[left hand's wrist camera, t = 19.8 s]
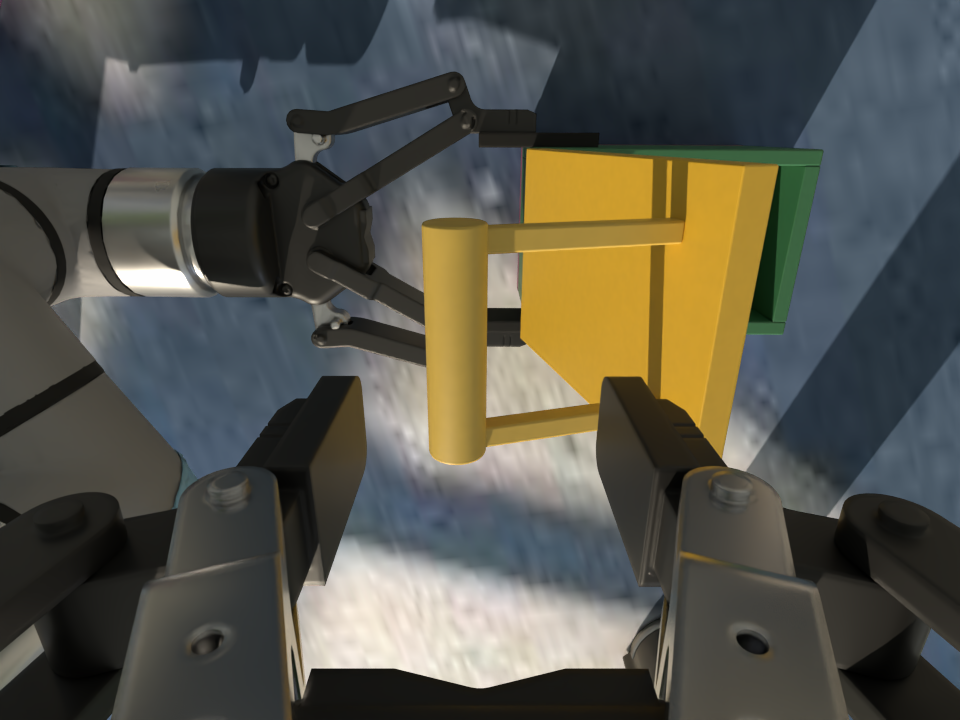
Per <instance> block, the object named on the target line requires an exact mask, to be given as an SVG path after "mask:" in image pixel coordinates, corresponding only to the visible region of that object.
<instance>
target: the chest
mask: <svg viewBox="0 0 960 720" xmlns="http://www.w3.org/2000/svg"><path fill="white" fill-rule="evenodd" d="M528 148H548V149H563V150H578V151H592V152H607V153H621V154H636V155H651V156H665V157H680V158H695V159H709V160H724V161H738V162H753V163H768V164H777V165H778V166H779V167H778V173H777V178H776V183H775V188H774V193H773V198H772V203H771V208H770V214H769V219H768V224H767V229H766V234H765V239H764V244H763V250H762V255H761V260H760V265H759V270H758V275H757V280H756V286H755V291H754V296H753V301H752V306H751V311H750V316H749V321H748V327H747V332H746V334H778V335H781V334H783V332H784V328H785V321H786V319H787V315H788V310H789V306H790V301H791V297H792V292H793V288H794V283H795V279H796V274H797V270H798V265H799V261H800V256H801V252H802V247H803V243H804V238H805V234H806V229H807V225H808V220H809V216H810V211H811V206H812V202H813V197H814V193H815V188H816V184H817V179H818V175H819V170H820V166H819V165H820V164H821V160H822V156H823V150H821V149H801V148H781V147H761V146H743V145H611V144H598V147H522V148H521V181H520V213H519V224H522V223H524V213H525V184H526V154H527V149H528ZM522 272H523V252H520V253H518V278H517V289H518V291H519V296H520V300H521V301H522Z"/></svg>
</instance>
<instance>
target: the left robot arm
mask: <svg viewBox="0 0 960 720" xmlns="http://www.w3.org/2000/svg"><path fill="white" fill-rule="evenodd" d="M366 455H367V443H366V431H365V419H364V407H363V396H362V386H361V381H360V378H359V377H358V376H322V377H321V378H320V380H319V381H318V383H317V384H316V386H315V387H314V389H313V390H312V392H311V394H310V395H309V397H308V398H307V399H295V400H293V401H292V402H290V403H288V404H287V405H285V406H283V407H282V408H280V409H279V410H277V412H276V413H275V414H274V416H273V417H272V419H271V420H270V421H269V423H268V426H266V427H265V428H264V429H263V431H262V432H261V434H260V437H258V438H257V439H256V440H255V442H254V443H253V444H252V446H251V447H250V448H249V450H248V451H247V453H246V454H245V455H244V457H243V458H242V459H241V461H240V462H239V463H238V465H237V466H236V467H232V468H227V469H222V470H219V471H216V472H213V473H211V474H208V475H206V476H204V477H202V478H200V479H198V480H197V481H195V482H194V483H192V484H191V485H190V486H188V487H187V488H186V490H185V491H184V492H183V493H182V495H181V496H180V499H179V503H178V508H175V509H171V510H167V511H162V512H156V513H151V514H146V515H141V516H135V517H130V518H125V519H123V515H122V512H121V508H120V505H119V502H118V500H117V499H116V498H115V497H114V496H112V495H110V494H107V493H102V492H84V493H77V494H71V495H67V496H63V497H59V498H56V499H53V500H50V501H48V502H45V503H43V504H40V505H38V506H36V507H34V508H32V509H30V510H28V511H27V512H25V513H23V514H22V515H20V516H18V517H17V518H15V519H14V520H12V521H11V522H9V523H7V524H6V525H4V526H3V527H1V528H0V652H1V651H2V650H3V649H4V648H6V647H7V646H8V645H9V644H10V643H12V642H13V641H14V640H15V639H16V638H18V637H19V636H20V635H21V634H22V633H24V632H25V631H26V630H27V629H28V628H30V627H31V626H32V625H33V624H34V626H35V629H36V631H37V634H38V636H39V639H40V641H41V644H42V646H43V649H44V652H42V653H41V654H40V655H39V656H38V657H37V658H36V659H35V660H34V661H32V662H31V663H30V664H29V665H28V666H27V667H26V668H25V669H24V670H22V671H21V672H20V673H19V674H18V675H17V676H16V677H15V678H14V679H12V680H11V681H10V682H9V683H8V684H7V685H6V686H5V687H4V688H2V689H1V690H0V720H107V719H108V717H109V716H110V715H111V714H112V716H111V720H849V716H848V714H849V715H850V716H851V717H852V719H853V720H960V690H959V689H958V688H956V687H955V686H954V685H953V684H952V683H951V682H950V681H949V680H948V679H946V678H945V677H944V676H943V675H942V674H941V673H940V672H939V671H938V670H936V669H935V668H934V667H933V666H932V665H931V664H930V663H929V662H928V661H926V660H925V659H924V658H923V657H922V656H921V652H922V650H923V647H924V645H925V642H926V640H927V637H928V635H929V632H930V630H931V628H932V629H933V630H934V631H935V632H936V633H938V634H939V635H940V636H941V637H942V638H944V639H945V640H946V641H947V642H948V643H950V644H951V645H952V646H953V647H954V648H956V649H957V650H958V651H959V652H960V528H959V527H957V526H956V525H954V524H953V523H951V522H949V521H948V520H946V519H945V518H943V517H942V516H940V515H938V514H937V513H935V512H933V511H931V510H929V509H927V508H925V507H923V506H921V505H918V504H916V503H913V502H910V501H907V500H904V499H901V498H897V497H893V496H888V495H883V494H870V493H866V494H858V495H853V496H851V497H849V498H848V499H847V500H845V502H844V504H843V507H842V510H841V514H840V517H839V519H835V518H830V517H825V516H819V515H814V514H809V513H804V512H798V511H794V510H790V509H786V508H783V507H782V503H781V499H780V496H779V495H778V493H777V492H776V491H775V490H774V488H773V487H772V486H770V485H769V484H768V483H766V482H765V481H763V480H762V479H760V478H758V477H756V476H754V475H752V474H749V473H747V472H744V471H741V470H738V469H733V468H728V467H727V465H726V464H725V463H724V461H723V460H722V459H721V457H720V456H719V455H718V453H717V452H716V451H715V449H714V448H713V447H712V445H711V444H710V443H709V441H708V440H707V439H706V438H704V435H703V433H702V432H701V431H700V429H699V428H698V427H696V424H695V423H694V421H693V420H692V418H691V417H690V416H689V414H688V413H687V412H686V410H684V409H682V408H681V407H679V406H677V405H676V404H674V403H673V402H671V401H669V400H668V399H656V398H655V397H654V395H653V394H652V392H651V391H650V389H649V388H648V386H647V385H646V383H645V382H644V380H643V379H642V377H640V376H605V377H604V379H603V381H602V386H601V395H600V406H599V417H598V429H597V440H596V459H597V467H598V471H599V475H600V477H601V480H602V483H603V486H604V489H605V492H606V495H607V497H608V500H609V503H610V506H611V509H612V512H613V514H614V517H615V520H616V523H617V526H618V529H619V531H620V534H621V537H622V540H623V543H624V546H625V549H626V551H627V554H628V557H629V560H630V563H631V566H632V568H633V571H634V574H635V577H636V580H637V583H638V586H639V587H661V588H662V590H663V593H664V601H663V608H662V614H661V619H658V620H656V621H654V622H652V623H650V624H649V625H647V626H646V627H645V628H643V629H642V630H641V631H640V632H639V633H638V634H637V636H636V637H635V639H634V640H633V643H632V645H631V649H630V652H629V653H628V654H627V655H625V656H624V657H623V661H624V665H625V668H626V669H562V670H558V671H554V672H550V673H546V674H542V675H538V676H534V677H530V678H526V679H522V680H518V681H513V682H509V683H505V684H501V685H497V686H493V687H489V688H471V687H467V686H463V685H459V684H455V683H451V682H447V681H442V680H438V679H434V678H430V677H426V676H422V675H418V674H414V673H410V672H406V671H402V670H398V669H311V672H310V675H309V679H308V682H307V685H306V682H305V672H304V662H303V652H302V642H301V632H300V623H299V614H298V608H297V600H298V597H299V595H300V592H301V590H302V587H303V586H325V584H326V581H327V578H328V575H329V572H330V570H331V567H332V564H333V561H334V558H335V555H336V552H337V549H338V546H339V543H340V540H341V538H342V535H343V532H344V529H345V526H346V523H347V520H348V517H349V514H350V511H351V509H352V506H353V503H354V500H355V497H356V494H357V491H358V488H359V485H360V482H361V479H362V477H363V474H364V470H365V465H366Z"/></svg>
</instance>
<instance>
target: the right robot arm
mask: <svg viewBox="0 0 960 720" xmlns="http://www.w3.org/2000/svg"><path fill="white" fill-rule="evenodd" d="M444 103H449V106H450V108H451V111H452V114H453V116H452V117H450V118H448V119H447V120H445V121H444V122H442V123H440V124H439V125H437V126H436V127H434V128H432V129H431V130H429V131H428V132H426V133H425V134H423V135H421V136H420V137H418V138H417V139H415V140H413V141H412V142H410V143H409V144H407V145H405V146H404V147H402V148H401V149H399V150H397V151H396V152H394V153H393V154H391V155H390V156H388V157H386V158H385V159H383V160H382V161H380V162H378V163H377V164H375V165H374V166H372V167H370V168H369V169H367V170H366V171H364V172H362V173H360V174H359V175H357V176H355V177H354V178H352V179H351V180H349V181H347V182H345V181H344V180H342V179H341V178H340V177H338V176H337V175H335V174H334V173H333V172H331V171H330V170H328V169H327V168H326V167H324V166H323V165H321V164H320V163H319V162H317V156H318V154H319V153H320V152H321V151H323V150H326V149H330V148H331V147H332V146H333V145H334V143H335V135H342V134H348V133H352V132H356V131H359V130H362V129H365V128H369V127H372V126H375V125H378V124H381V123H384V122H388V121H391V120H394V119H397V118H400V117H403V116H407V115H410V114H413V113H416V112H419V111H422V110H425V109H429V108H432V107H435V106H438V105H441V104H444ZM286 122H287V125H288V127H289V128H290V130H292V131H293V132H294V145H295V161H294V162H292V163H290V164H289V165H287V166H285V167H283V168H213V169H211V170H209V171H208V172H205V171H203V170H201V169H199V168H122V169H81V168H36V167H17V166H12V165H0V528H1V527H3V526H4V525H6V524H7V523H9V522H11V521H12V520H14V519H15V518H17V517H18V516H20V515H22V514H23V513H25V512H27V511H28V510H30V509H32V508H34V507H36V506H38V505H40V504H43V503H45V502H48V501H50V500H53V499H56V498H59V497H63V496H67V495H71V494H77V493H84V492H102V493H107V494H110V495H112V496H114V497H115V498H116V499H117V500H118V502H119V505H120V508H121V512H122V515H123V519H125V518H130V517H135V516H141V515H146V514H151V513H156V512H162V511H167V510H171V509H175V508H178V503H179V499H180V496H181V495H182V493H183V492H184V491H185V490H186V488H187V487H188V486H190V485H191V484H192V483H194V482H195V481H197V480H198V479H197V478H196V476H195V475H194V474H193V472H192V471H191V470H190V468H189V467H188V465H187V462H186V460H185V459H184V458H183V455H182V454H180V453H179V452H177V451H176V450H175V449H173V448H172V447H171V446H170V445H169V444H168V443H167V442H166V440H165V439H164V438H163V437H162V436H161V435H160V434H159V433H158V431H157V430H156V429H155V428H154V427H153V426H152V425H151V424H150V423H149V421H148V420H147V419H146V418H145V417H144V416H143V415H142V414H141V412H140V411H139V410H138V409H137V408H136V407H135V406H134V405H133V404H132V402H131V401H130V400H129V399H128V398H127V397H126V396H125V395H124V393H123V392H122V391H121V390H120V389H119V388H118V387H117V386H116V385H115V383H114V382H113V381H112V380H111V379H110V378H109V377H108V376H107V374H106V373H105V372H104V370H103V368H102V367H101V366H100V365H99V364H98V363H97V362H96V360H95V359H94V357H93V356H92V355H91V354H90V353H89V351H88V350H87V349H86V348H85V347H84V346H83V344H82V343H81V342H80V341H79V340H78V339H77V337H76V336H75V335H74V334H73V333H72V332H71V330H70V329H69V328H68V327H67V326H66V324H65V323H64V322H63V321H62V320H61V319H60V317H59V316H58V315H57V314H56V313H55V312H54V310H53V309H52V308H51V307H50V306H53V305H55V304H58V303H60V302H63V301H65V300H68V299H72V298H78V297H97V296H160V297H212V296H215V295H217V294H218V293H219V294H221V295H222V296H225V297H294V298H298V299H301V300H303V301H305V302H307V303H309V304H311V305H312V311H313V316H314V322H315V327H316V330H315V331H314V332H313V334H312V336H311V340H312V343H313V344H314V345H315V346H317V347H318V348H333V347H353V348H356V349H360V350H364V351H367V352H371V353H375V354H379V355H382V356H386V357H390V358H393V359H397V360H401V361H405V362H408V363H412V364H416V365H419V366H423V367H426V338H425V335H423V334H419V333H416V332H412V331H409V330H405V329H401V328H398V327H394V326H390V325H387V324H383V323H380V322H376V321H372V320H369V319H364V318H358V317H350V315H349V313H348V312H347V311H346V310H344V309H339V308H336V307H335V306H334V305H333V304H332V303H331V299H333V298H334V297H335V296H337V295H338V294H339V293H341V292H342V291H343V290H345V289H346V288H347V289H349V290H351V291H353V292H355V293H356V294H358V295H360V296H362V297H364V298H366V299H369V300H375V301H377V302H379V303H381V304H383V305H384V306H386V307H388V308H390V309H392V310H394V311H396V312H397V313H399V314H401V315H403V316H405V317H407V318H409V319H410V320H412V321H414V322H416V323H418V324H420V325H422V326H423V327H425V308H424V293H423V292H421V291H419V290H417V289H416V288H414V287H412V286H410V285H408V284H406V283H405V282H403V281H401V280H399V279H397V278H396V277H394V276H392V275H390V274H389V273H388V272H387V271H386V270H385V269H384V268H382V267H380V266H378V265H376V264H375V263H373V259H374V258H375V246H374V242H373V239H372V236H371V233H370V230H371V225H372V220H373V216H372V206H369V203H368V201H367V199H366V197H368V196H370V195H371V194H373V193H375V192H376V191H378V190H379V189H381V188H383V187H384V186H386V185H387V184H389V183H391V182H392V181H394V180H395V179H397V178H399V177H400V176H402V175H404V174H405V173H407V172H408V171H410V170H412V169H413V168H415V167H416V166H418V165H420V164H421V163H423V162H425V161H426V160H428V159H429V158H431V157H433V156H434V155H436V154H437V153H439V152H441V151H442V150H444V149H446V148H447V147H449V146H450V145H452V144H454V143H455V142H457V141H459V140H460V139H462V138H463V137H465V136H467V135H468V134H470V133H479V147H598V143H599V133H536V113H534V112H531V111H529V110H485V109H480V108H478V107H476V106H475V105H474V104H473V102H472V100H471V98H470V95H469V92H468V89H467V86H466V83H465V80H464V78H463V76H462V75H461V74H460V73H458V72H449V73H446V74H443V75H440V76H437V77H434V78H430V79H427V80H424V81H421V82H418V83H415V84H412V85H409V86H406V87H403V88H399V89H396V90H393V91H390V92H387V93H384V94H381V95H378V96H375V97H371V98H368V99H365V100H362V101H359V102H356V103H353V104H350V105H347V106H344V107H340V108H337V109H334V110H331V111H316V110H303V109H293V110H291V111H290V112H289V113H288V115H287V118H286ZM520 331H521V308H487V346H499V347H503V346H505V347H510V346H511V347H520V346H523V345H525V344H526V343H525V342H524V341H523V340H522V339H521V338H520ZM42 652H44V649H43V646H42V644H41V641H40V639H39V636H38V634H37V631H36V629H35V626H34V624H33V625H32V626H31V627H30V628H28V629H27V630H26V631H25V632H24V633H22V634H21V635H20V636H19V637H18V638H16V639H15V640H14V641H13V642H12V643H10V644H9V645H8V646H7V647H6V648H4V649H3V650H2V651H1V652H0V690H1V689H2V688H4V687H5V686H6V685H7V684H8V683H9V682H10V681H11V680H12V679H14V678H15V677H16V676H17V675H18V674H19V673H20V672H21V671H22V670H24V669H25V668H26V667H27V666H28V665H29V664H30V663H31V662H32V661H34V660H35V659H36V658H37V657H38V656H39V655H40V654H41V653H42Z"/></svg>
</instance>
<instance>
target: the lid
mask: <svg viewBox="0 0 960 720" xmlns="http://www.w3.org/2000/svg"><path fill="white" fill-rule="evenodd" d="M778 167H779V166H778V165H777V164H768V163H753V162H738V161H724V160H709V159H695V158H680V157H665V156H651V155H636V154H621V153H607V152H592V151H578V150H563V149H548V148H528V149H527V154H526V184H525V213H524V223H522V224H496V225H488V224H487V222H485V221H483V220H479V219H472V218H438V219H431V220H427V221H425V222H423V223H422V248H423V278H424V308H425V338H426V367H427V397H428V427H429V451H430V454H431V455H432V457H433V458H434V459H436V460H437V461H439V462H442V463H445V464H451V465H463V464H468V463H472V462H475V461H477V460H478V459H480V458H481V457H482V456H483V455H484V453H485V450H486V447H489V446H496V445H503V444H510V443H516V442H523V441H530V440H537V439H543V438H550V437H557V436H564V435H570V434H577V433H584V432H591V431H597V429H598V417H599V406H600V395H601V386H602V381H603V379H604V377H605V376H640V377H642V379H643V380H644V382H645V383H646V385H647V386H648V388H649V389H650V391H651V392H652V394H653V395H654V397H655V398H656V399H668V400H669V401H671V402H673V403H674V404H676V405H677V406H679V407H681V408H682V409H684V410H686V412H687V413H688V414H689V416H690V417H691V418H692V420H693V421H694V423H695V424H696V427H698V428H699V429H700V431H701V432H702V433H703V435H704V438H706V439H707V440H708V441H709V443H710V444H711V445H712V447H713V448H714V449H715V451H716V452H717V453H718V455H719V456H720V457H721V459H722V455H723V450H724V445H725V440H726V434H727V429H728V424H729V419H730V414H731V409H732V404H733V398H734V393H735V388H736V383H737V378H738V373H739V368H740V363H741V357H742V352H743V347H744V342H745V337H746V332H747V327H748V321H749V316H750V311H751V306H752V301H753V296H754V291H755V286H756V280H757V275H758V270H759V265H760V260H761V255H762V250H763V244H764V239H765V234H766V229H767V224H768V219H769V214H770V208H771V203H772V198H773V193H774V188H775V183H776V178H777V173H778ZM520 252H523V272H522V301H521V331H520V338H521V339H522V340H523V341H524V342H525V343H526V344H527V345H528V346H529V347H530V348H531V349H532V350H534V351H535V352H536V353H537V354H538V355H539V356H540V357H541V358H542V359H543V360H544V361H545V362H546V363H547V364H548V365H549V366H550V367H551V368H552V369H553V370H555V371H556V372H557V373H558V374H559V375H560V376H561V377H562V378H563V379H564V380H565V381H566V382H567V383H568V384H569V385H570V386H571V387H572V388H573V389H575V390H576V391H577V392H578V393H579V394H580V395H581V396H582V397H583V398H584V399H585V400H586V401H587V402H588V403H589V404H588V405H580V406H573V407H565V408H558V409H550V410H543V411H535V412H528V413H520V414H513V415H506V416H498V417H491V418H486V377H487V279H488V254H501V253H520Z"/></svg>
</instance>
